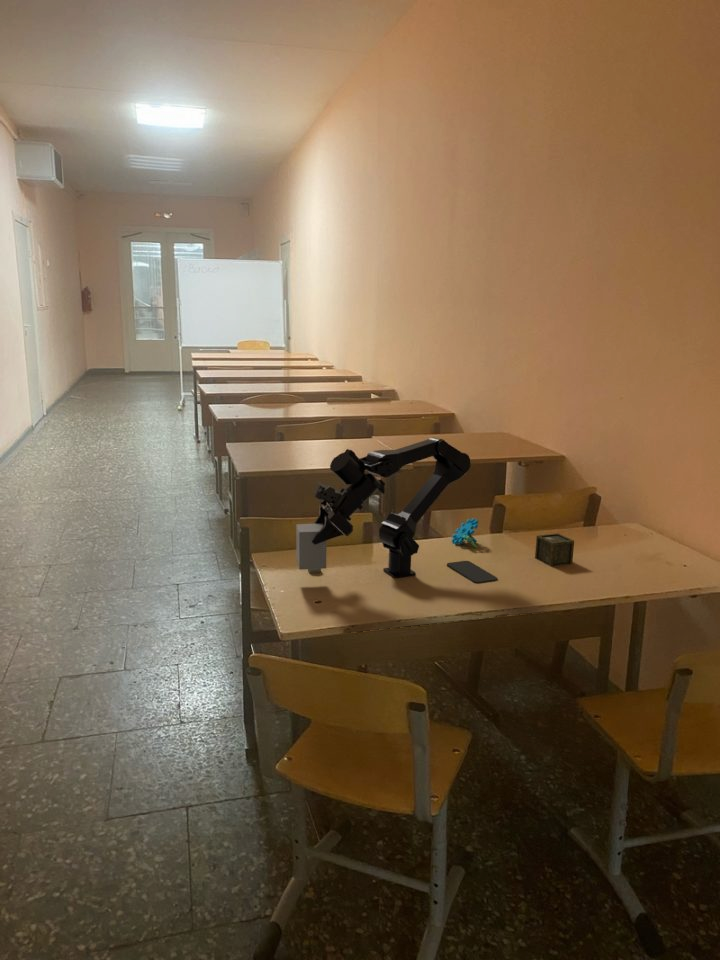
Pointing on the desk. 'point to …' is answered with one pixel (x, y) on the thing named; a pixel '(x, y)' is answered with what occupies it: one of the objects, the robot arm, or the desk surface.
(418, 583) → the desk surface
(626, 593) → the desk surface
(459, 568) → the phone
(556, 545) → the wooden crate
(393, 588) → the desk surface
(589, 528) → the desk surface
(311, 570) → the grey-green round piece
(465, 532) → the blue green lobed piece
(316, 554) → the grey rectangular block
